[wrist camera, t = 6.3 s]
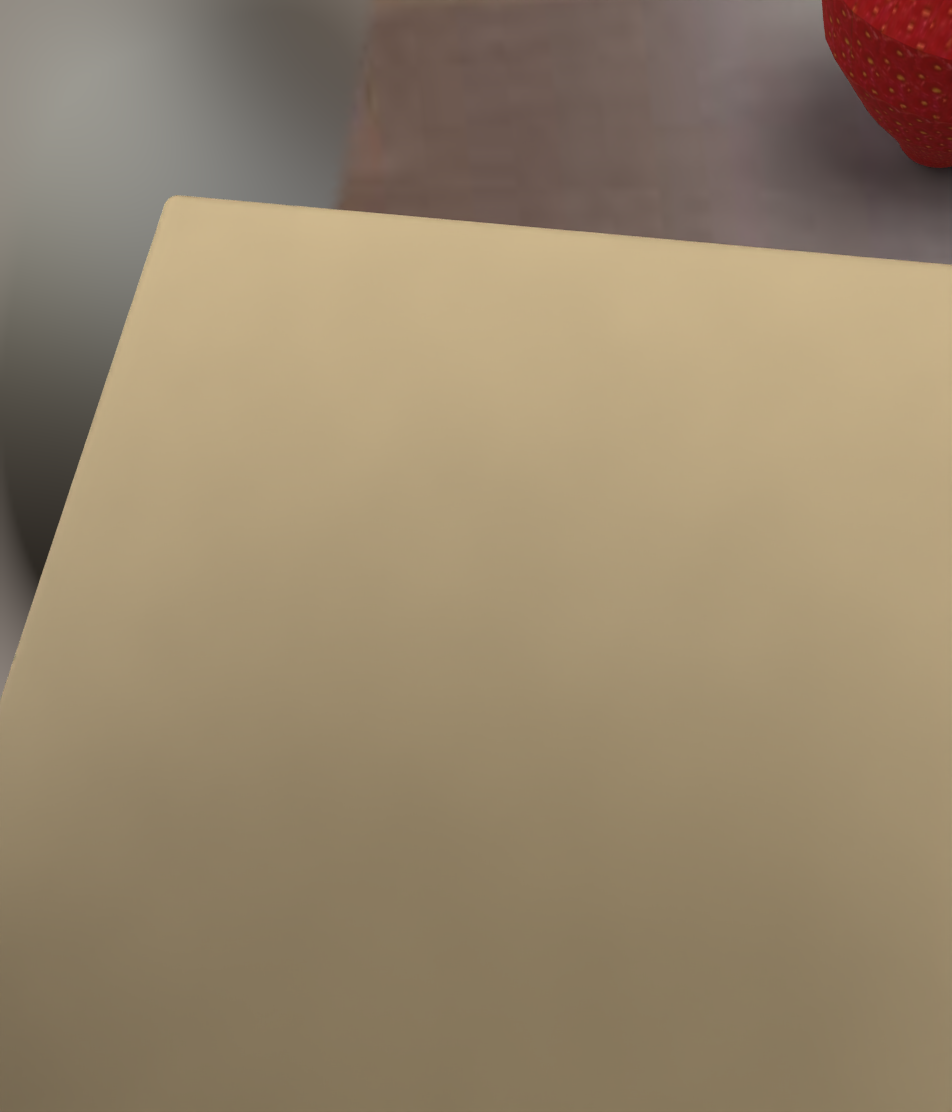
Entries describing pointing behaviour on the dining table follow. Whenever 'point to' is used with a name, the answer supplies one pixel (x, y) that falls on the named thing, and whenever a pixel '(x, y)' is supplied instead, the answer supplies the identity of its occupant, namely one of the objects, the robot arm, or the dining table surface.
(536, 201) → the dining table surface
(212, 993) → the tall cream block
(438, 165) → the dining table surface
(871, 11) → the strawberry
